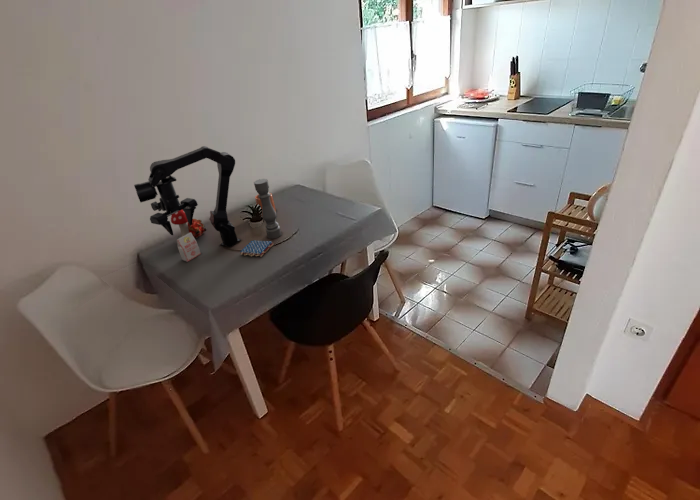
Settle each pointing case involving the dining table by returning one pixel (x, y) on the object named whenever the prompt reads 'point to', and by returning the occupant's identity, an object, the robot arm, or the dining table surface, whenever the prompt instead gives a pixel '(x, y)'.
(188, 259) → the white printed carton
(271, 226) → the candle holder
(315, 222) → the dining table surface
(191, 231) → the dragon fruit
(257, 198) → the terracotta cup
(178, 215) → the decorative mushroom
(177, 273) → the dining table surface
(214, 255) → the dining table surface
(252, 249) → the woven mat
